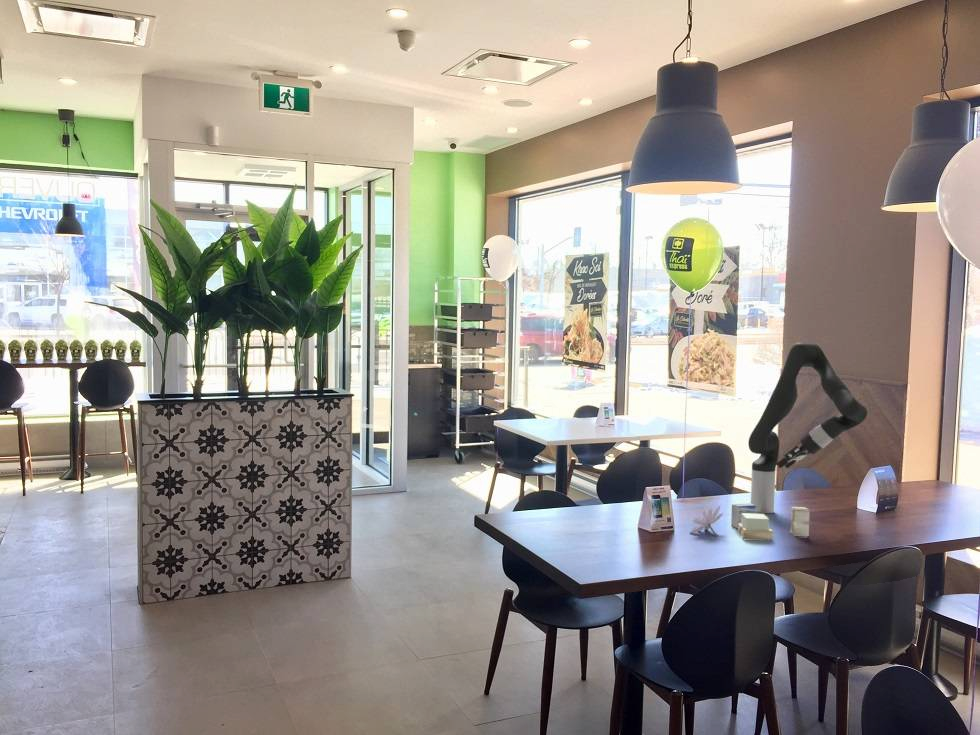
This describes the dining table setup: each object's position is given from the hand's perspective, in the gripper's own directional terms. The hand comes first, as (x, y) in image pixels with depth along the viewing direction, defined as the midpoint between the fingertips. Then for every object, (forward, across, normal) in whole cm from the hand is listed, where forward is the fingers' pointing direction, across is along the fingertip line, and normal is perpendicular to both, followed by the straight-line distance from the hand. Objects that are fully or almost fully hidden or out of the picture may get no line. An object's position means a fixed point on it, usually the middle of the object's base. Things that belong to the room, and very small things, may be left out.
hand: (781, 466), depth 312 cm
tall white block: (+11, 0, +23) cm, 26 cm away
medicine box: (+26, +1, +9) cm, 28 cm away
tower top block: (+19, +12, +14) cm, 26 cm away
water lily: (+34, +19, +6) cm, 39 cm away
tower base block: (+21, +12, +16) cm, 30 cm away
